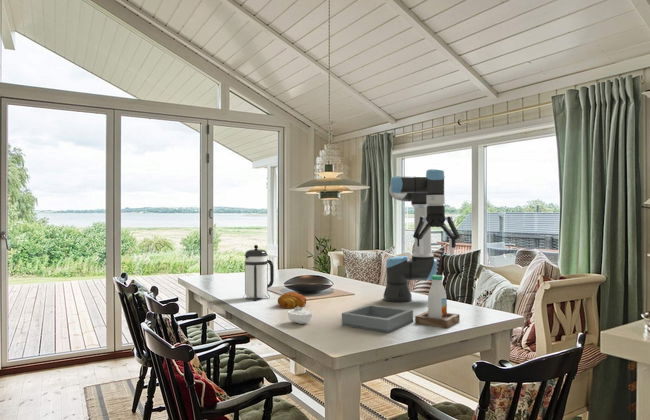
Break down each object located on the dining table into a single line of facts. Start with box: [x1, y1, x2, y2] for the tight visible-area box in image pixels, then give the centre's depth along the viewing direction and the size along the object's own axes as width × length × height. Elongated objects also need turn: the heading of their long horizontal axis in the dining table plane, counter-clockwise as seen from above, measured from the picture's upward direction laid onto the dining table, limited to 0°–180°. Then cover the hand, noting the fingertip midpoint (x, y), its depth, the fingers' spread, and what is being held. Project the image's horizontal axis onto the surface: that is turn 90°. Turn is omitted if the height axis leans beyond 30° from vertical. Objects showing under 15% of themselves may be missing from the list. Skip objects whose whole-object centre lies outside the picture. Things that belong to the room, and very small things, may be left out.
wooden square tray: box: [414, 310, 461, 329], centre depth 192 cm, size 14×14×3 cm
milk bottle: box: [427, 274, 448, 319], centre depth 192 cm, size 8×8×20 cm
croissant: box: [277, 291, 307, 309], centre depth 231 cm, size 14×16×8 cm
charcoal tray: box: [341, 304, 414, 334], centre depth 191 cm, size 22×22×5 cm
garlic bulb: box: [286, 307, 313, 325], centre depth 194 cm, size 10×12×7 cm
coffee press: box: [242, 244, 275, 302], centre depth 253 cm, size 17×16×30 cm
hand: (436, 255), depth 192 cm, fingers open, 13 cm apart
